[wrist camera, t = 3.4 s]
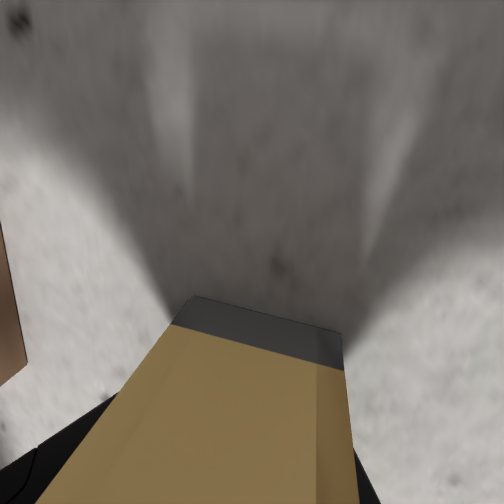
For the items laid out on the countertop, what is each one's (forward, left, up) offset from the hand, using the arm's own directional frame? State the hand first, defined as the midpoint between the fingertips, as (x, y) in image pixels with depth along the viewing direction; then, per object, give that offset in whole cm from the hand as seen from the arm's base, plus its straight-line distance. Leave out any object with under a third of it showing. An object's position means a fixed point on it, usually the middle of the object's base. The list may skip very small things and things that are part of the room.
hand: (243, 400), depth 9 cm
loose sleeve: (0, 0, -1) cm, 1 cm away
